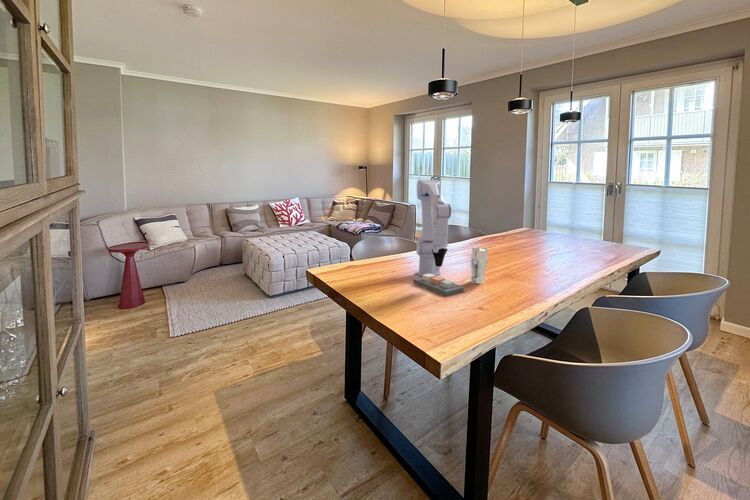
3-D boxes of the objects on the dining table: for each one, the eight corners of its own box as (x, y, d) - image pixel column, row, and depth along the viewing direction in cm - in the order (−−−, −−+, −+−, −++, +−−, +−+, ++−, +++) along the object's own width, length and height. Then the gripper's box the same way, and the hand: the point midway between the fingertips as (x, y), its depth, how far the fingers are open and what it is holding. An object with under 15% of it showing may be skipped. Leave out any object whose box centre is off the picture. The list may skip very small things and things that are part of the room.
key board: (429, 279, 168) (430, 275, 168) (463, 291, 152) (464, 287, 152) (413, 283, 162) (413, 278, 162) (446, 296, 146) (446, 291, 146)
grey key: (447, 285, 155) (447, 279, 155) (454, 288, 152) (454, 282, 152) (440, 287, 153) (440, 281, 152) (447, 289, 150) (447, 283, 149)
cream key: (428, 278, 164) (429, 273, 163) (435, 281, 161) (435, 275, 160) (422, 280, 162) (422, 274, 161) (428, 282, 159) (428, 277, 158)
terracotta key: (437, 282, 160) (438, 276, 159) (444, 284, 156) (444, 278, 156) (431, 283, 157) (431, 277, 157) (437, 286, 154) (438, 280, 154)
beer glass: (486, 281, 167) (489, 248, 164) (483, 285, 161) (486, 251, 158) (470, 278, 170) (473, 246, 167) (467, 283, 164) (470, 249, 161)
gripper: (435, 230, 160) (434, 260, 163) (426, 235, 147) (424, 268, 150) (451, 231, 157) (449, 262, 160) (443, 237, 144) (441, 271, 148)
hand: (438, 266), depth 155 cm, fingers closed
